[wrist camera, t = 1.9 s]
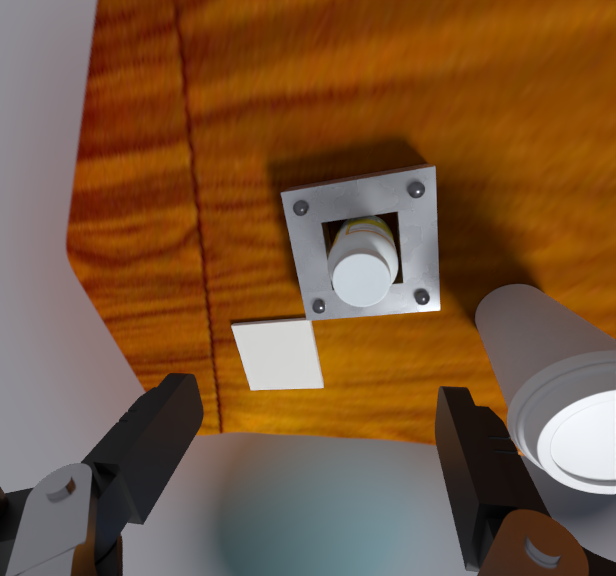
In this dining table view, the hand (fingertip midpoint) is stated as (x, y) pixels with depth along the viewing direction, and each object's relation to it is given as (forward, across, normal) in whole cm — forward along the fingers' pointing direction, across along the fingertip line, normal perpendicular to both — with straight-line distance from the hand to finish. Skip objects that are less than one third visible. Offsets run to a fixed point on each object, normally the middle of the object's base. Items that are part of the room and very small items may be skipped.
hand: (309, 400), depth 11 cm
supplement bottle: (+22, -2, +1) cm, 23 cm away
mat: (+22, +8, +14) cm, 28 cm away
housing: (+22, -2, +1) cm, 22 cm away
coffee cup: (+22, -16, +8) cm, 29 cm away
